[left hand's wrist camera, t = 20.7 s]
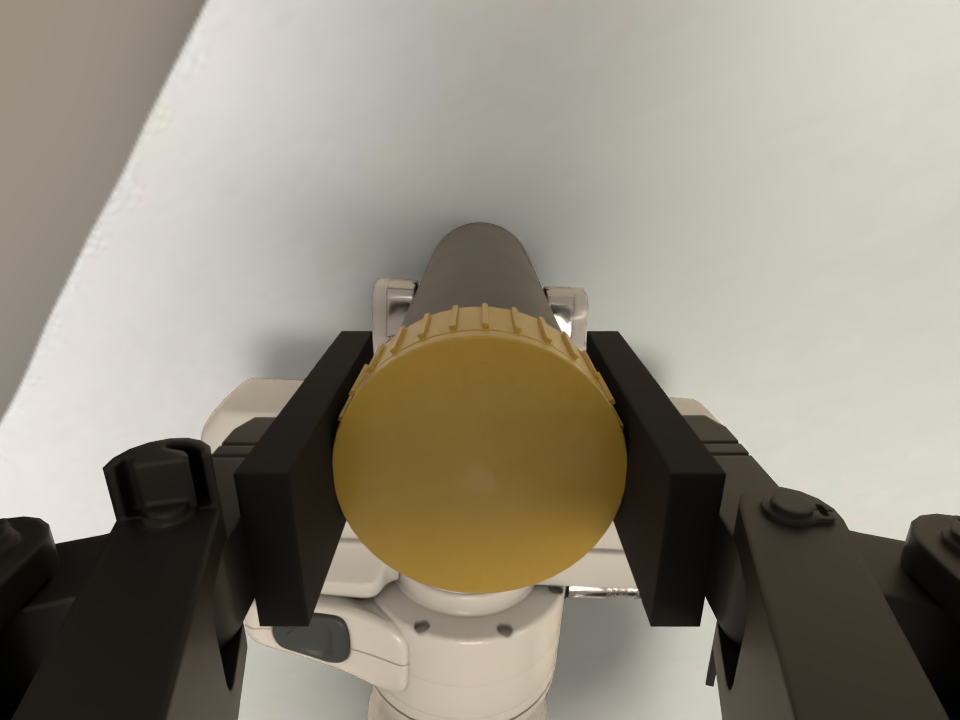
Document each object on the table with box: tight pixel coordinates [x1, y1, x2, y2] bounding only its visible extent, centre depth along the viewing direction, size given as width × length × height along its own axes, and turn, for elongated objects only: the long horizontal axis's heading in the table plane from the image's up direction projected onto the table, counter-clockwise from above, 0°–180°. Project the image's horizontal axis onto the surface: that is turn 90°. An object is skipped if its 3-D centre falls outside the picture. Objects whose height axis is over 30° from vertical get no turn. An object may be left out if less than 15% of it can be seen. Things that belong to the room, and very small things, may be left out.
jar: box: [401, 223, 562, 333], centre depth 19 cm, size 5×5×17 cm
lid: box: [332, 303, 628, 594], centre depth 11 cm, size 6×6×2 cm
